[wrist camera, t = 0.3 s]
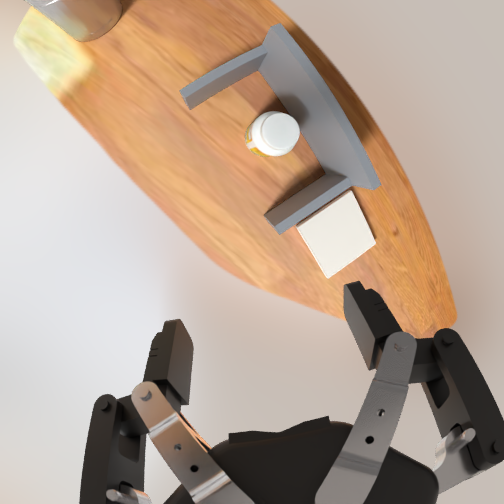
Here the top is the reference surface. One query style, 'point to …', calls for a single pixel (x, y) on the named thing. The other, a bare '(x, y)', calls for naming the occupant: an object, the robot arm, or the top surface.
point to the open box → (298, 120)
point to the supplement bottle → (272, 134)
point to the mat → (337, 234)
